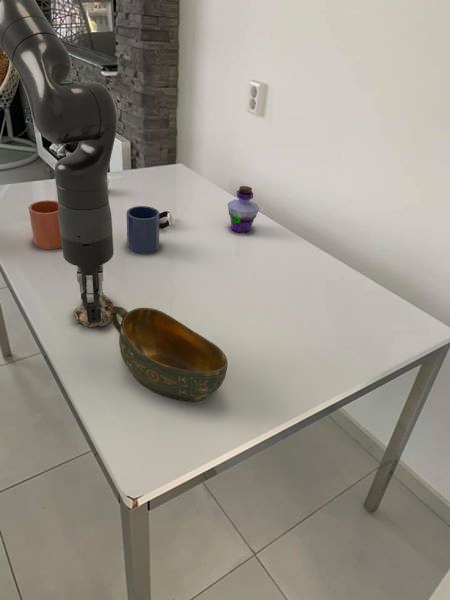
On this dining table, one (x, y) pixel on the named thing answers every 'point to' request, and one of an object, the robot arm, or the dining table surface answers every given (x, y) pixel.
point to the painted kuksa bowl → (168, 354)
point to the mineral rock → (105, 313)
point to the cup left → (45, 224)
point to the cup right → (143, 229)
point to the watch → (168, 222)
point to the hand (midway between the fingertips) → (94, 320)
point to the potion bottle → (242, 210)
